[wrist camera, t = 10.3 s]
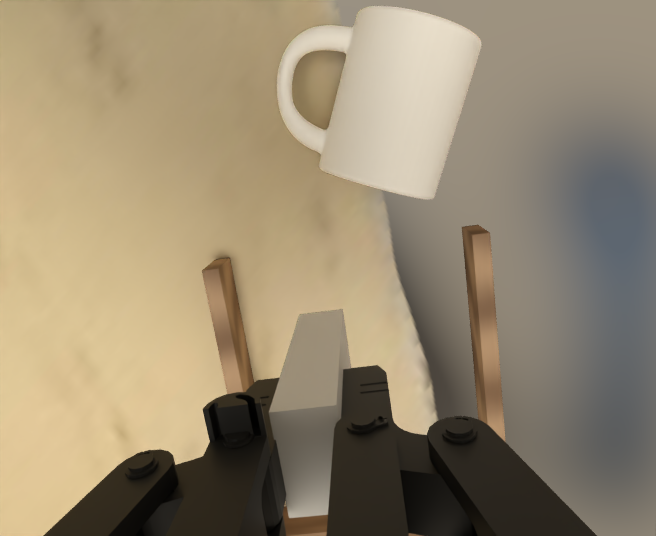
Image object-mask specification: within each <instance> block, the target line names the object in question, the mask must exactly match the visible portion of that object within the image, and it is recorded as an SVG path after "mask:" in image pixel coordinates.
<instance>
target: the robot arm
mask: <svg viewBox="0 0 656 536" xmlns="http://www.w3.org/2000/svg"><path fill="white" fill-rule="evenodd" d="M203 413H204V417H205V422H206V426H207V431H208V435H209V440H210V443H209V445H208V447H207V449H206V452H205V454H204V456H203V457H200V458H197V459H194V460H191V461H188V462H184V463H181V464H177V465H175V462H174V458H173V455H172V454H171V453H170V452H169V451H164V450H148V451H144V452H140V453H137V454H136V455H134V456H132V457H130V458H128V459H126V460H125V461H124V462H122V463H121V464H120V465H118V466H117V467H116V468H115V469H114V470H113V471H112V472H111V473H110V474H108V475H107V476H106V477H105V478H104V479H103V480H102V481H101V482H100V483H99V484H98V485H97V486H96V487H95V488H94V489H93V490H91V491H90V492H89V493H88V494H87V495H86V496H85V497H84V498H83V499H82V500H81V501H80V502H79V503H78V504H77V505H76V506H74V507H73V508H72V509H71V510H70V511H69V512H68V513H67V514H66V515H65V516H64V517H63V518H62V519H61V520H60V521H59V522H57V523H56V524H55V525H54V526H53V527H52V528H51V529H50V530H49V531H48V532H47V533H46V534H45V535H44V536H286V529H285V523H284V518H283V509H284V504H285V500H286V505H287V510H288V516H289V518H297V517H308V516H319V515H328V521H327V534H326V536H409V533H411V534H416V535H422V536H597V535H595V533H594V532H593V531H592V530H591V529H590V528H589V527H588V526H587V525H586V524H585V523H584V522H583V521H582V520H581V519H580V518H579V517H578V516H577V515H576V514H575V513H574V512H573V511H572V510H571V509H570V508H569V507H568V506H567V505H566V504H565V503H564V502H563V501H562V500H561V499H560V498H559V497H558V496H557V495H556V494H555V493H554V492H553V491H552V490H551V489H550V487H549V486H547V484H546V483H545V482H544V481H543V480H542V479H541V478H540V477H539V476H538V475H537V474H536V473H535V472H534V471H533V470H532V469H531V468H530V467H529V466H528V465H527V464H526V463H525V462H524V461H523V460H522V459H521V458H520V457H519V456H518V455H517V454H516V453H515V452H514V451H513V450H512V449H511V448H510V447H509V445H508V444H506V442H505V441H504V440H503V439H502V438H501V437H500V436H499V435H498V434H497V433H496V432H495V431H494V430H493V429H492V428H491V427H490V426H489V425H487V424H486V423H484V422H483V421H481V420H478V419H474V418H471V417H466V416H463V417H462V416H455V417H450V418H445V419H442V420H439V421H437V422H435V423H434V424H433V425H432V426H430V427H429V430H428V433H427V435H420V434H414V433H410V432H407V431H404V430H403V429H401V428H399V427H398V426H397V425H396V424H395V423H394V421H393V418H392V411H391V404H390V397H389V390H388V383H387V375H386V372H385V371H384V370H383V369H382V368H380V367H379V366H378V365H376V366H367V367H358V368H351V363H350V356H349V349H348V342H347V335H346V329H345V322H344V315H343V309H339V310H331V311H323V312H315V313H307V314H299V317H298V321H297V324H296V327H295V330H294V333H293V337H292V340H291V343H290V346H289V349H288V353H287V356H286V359H285V362H284V365H283V369H282V372H281V375H280V378H274V379H265V380H257V381H256V382H255V383H254V384H253V385H252V386H250V387H249V388H248V389H247V390H246V392H236V393H231V394H226V395H224V396H221V397H219V398H216V399H215V400H213V401H211V402H210V403H208V404H207V405H206V406H205V407H204V409H203Z"/></svg>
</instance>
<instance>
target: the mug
mask: <svg viewBox="0 0 656 536" xmlns="http://www.w3.org/2000/svg"><path fill="white" fill-rule="evenodd" d="M481 47H482V43H481V40H480V39H479V37H478V36H477V35H476V34H475V33H473V32H472V31H470V30H469V29H467V28H465V27H463V26H461V25H459V24H457V23H455V22H452V21H450V20H447V19H445V18H442V17H438V16H435V15H432V14H429V13H425V12H421V11H417V10H412V9H407V8H400V7H393V6H370V7H365V8H363V9H361V10H360V11H359V12H358V13H357V16H356V20H355V24H354V25H353V26H352V27H346V26H338V25H322V26H316V27H312V28H309V29H307V30H305V31H303V32H301V33H300V34H298V35H297V36H296V37H295V38H294V39H293V40H292V41H291V42H290V43H289V45H288V46H287V48H286V50H285V51H284V53H283V56H282V58H281V61H280V65H279V69H278V75H277V99H278V105H279V110H280V113H281V116H282V119H283V121H284V123H285V125H286V127H287V128H288V130H289V131H290V133H291V134H292V135H293V136H294V137H295V138H296V139H297V140H298V141H299V142H300V143H302V144H303V145H305V146H306V147H308V148H310V149H312V150H314V151H316V152H319V153H320V155H321V158H320V162H319V168H320V169H321V170H322V171H324V172H326V173H329V174H331V175H334V176H337V177H340V178H343V179H346V180H349V181H352V182H356V183H359V184H362V185H366V186H369V187H373V188H377V189H380V190H384V191H388V192H392V193H396V194H401V195H404V196H409V197H414V198H419V199H426V200H431V199H433V198H434V197H435V193H436V191H437V187H438V184H439V181H440V178H441V175H442V172H443V168H444V165H445V162H446V158H447V156H448V152H449V149H450V146H451V143H452V139H453V136H454V133H455V130H456V127H457V123H458V120H459V117H460V114H461V111H462V107H463V104H464V101H465V98H466V95H467V92H468V88H469V85H470V82H471V79H472V76H473V72H474V69H475V66H476V63H477V60H478V57H479V53H480V50H481ZM319 50H331V51H340V52H344V53H345V54H346V60H345V64H344V68H343V71H342V75H341V79H340V83H339V87H338V91H337V95H336V99H335V103H334V107H333V111H332V115H331V119H330V123H329V127H328V128H327V129H325V130H323V129H321V128H319V127H317V126H315V125H313V124H311V123H310V122H308V121H307V120H306V119H305V118H303V117H302V116H301V115H300V113H299V112H298V111H297V109H296V107H295V105H294V103H293V98H292V81H293V75H294V71H295V68H296V65H297V63H298V62H299V60H300V59H301V58H302V57H303V56H304V55H306V54H307V53H310V52H313V51H319Z"/></svg>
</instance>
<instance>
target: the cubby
mask: <svg viewBox="0 0 656 536" xmlns="http://www.w3.org/2000/svg"><path fill="white" fill-rule="evenodd" d="M462 235H463V246H464V257H465V269H466V280H467V293H468V304H469V315H470V327H471V339H472V351H473V361H474V374H475V384H476V397H477V408H478V420H481V421H483V422H484V423H486V424H487V425H489V426H490V427H491V428H492V429H493V430H494V431H495V432H496V433H497V434H498V435H499V436H500V437H501V438H502V439H503V440H504V441H505V432H504V431H505V430H504V417H503V403H502V390H501V377H500V364H499V349H498V336H497V322H496V308H495V295H494V282H493V269H492V255H491V241H490V233H489V232H488V231H487V230H485V229H483V228H482V227H481V226H479V225H473V226H465V227H462ZM202 273H203V278H204V283H205V288H206V293H207V297H208V302H209V307H210V312H211V317H212V321H213V326H214V331H215V336H216V341H217V345H218V350H219V355H220V360H221V365H222V369H223V374H224V379H225V384H226V389H227V393H228V394H231V393H236V392H246V390H247V389H248V388H249V387H250V386H252V385H253V384H254V381H253V375H252V370H251V365H250V360H249V355H248V350H247V345H246V339H245V334H244V329H243V324H242V319H241V314H240V308H239V303H238V298H237V293H236V288H235V283H234V278H233V272H232V267H231V262H230V258H226V259H219V260H214V261H213V262H212V263H211V264H210V265H208V266H207V267H206V268H205V269H204V270H202ZM283 518H284V523H285V529H286V536H326V534H327V521H328V515H319V516H308V517H297V518H289V516H288V510H287V507H284V509H283ZM409 536H422V535H416V534H411V533H409Z"/></svg>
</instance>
